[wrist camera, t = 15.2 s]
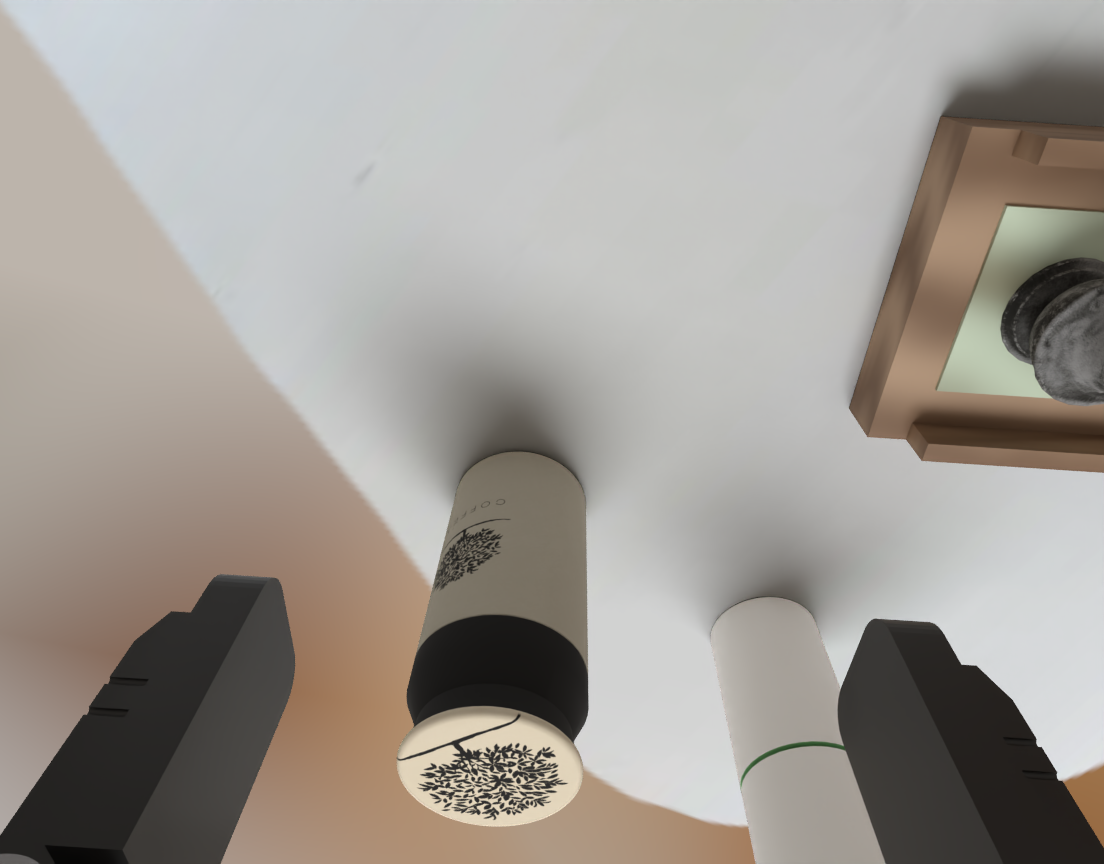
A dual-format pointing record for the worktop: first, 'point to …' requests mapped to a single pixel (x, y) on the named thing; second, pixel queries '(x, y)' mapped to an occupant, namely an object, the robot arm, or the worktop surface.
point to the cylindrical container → (789, 737)
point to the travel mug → (503, 649)
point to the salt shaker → (1061, 329)
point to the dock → (984, 298)
